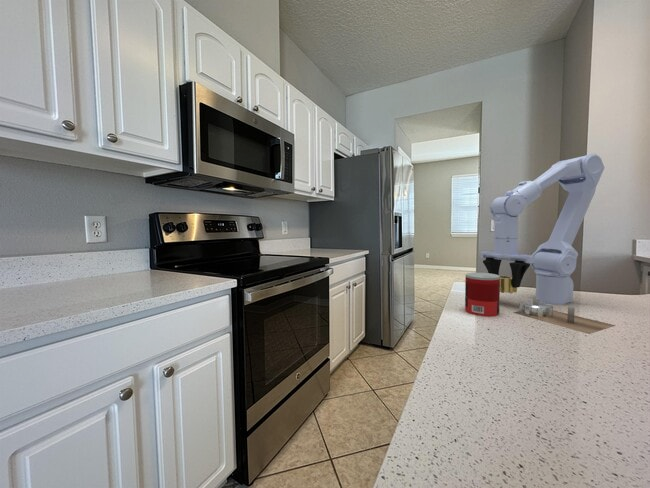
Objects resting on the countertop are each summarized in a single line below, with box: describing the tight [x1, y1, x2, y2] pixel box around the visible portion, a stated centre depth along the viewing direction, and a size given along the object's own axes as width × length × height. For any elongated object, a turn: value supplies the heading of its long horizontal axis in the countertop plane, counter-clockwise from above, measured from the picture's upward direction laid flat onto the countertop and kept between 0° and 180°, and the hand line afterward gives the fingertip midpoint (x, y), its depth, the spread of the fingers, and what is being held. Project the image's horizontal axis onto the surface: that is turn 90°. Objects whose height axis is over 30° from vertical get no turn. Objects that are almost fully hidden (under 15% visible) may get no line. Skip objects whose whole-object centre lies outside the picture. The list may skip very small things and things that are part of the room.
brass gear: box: [499, 274, 518, 294], centre depth 81 cm, size 6×6×4 cm
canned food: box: [464, 272, 501, 318], centre depth 74 cm, size 8×8×11 cm
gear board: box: [512, 298, 616, 335], centre depth 68 cm, size 11×16×4 cm
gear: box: [518, 300, 554, 318], centre depth 73 cm, size 7×7×2 cm
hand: (504, 285), depth 81 cm, fingers closed on brass gear, 6 cm apart
